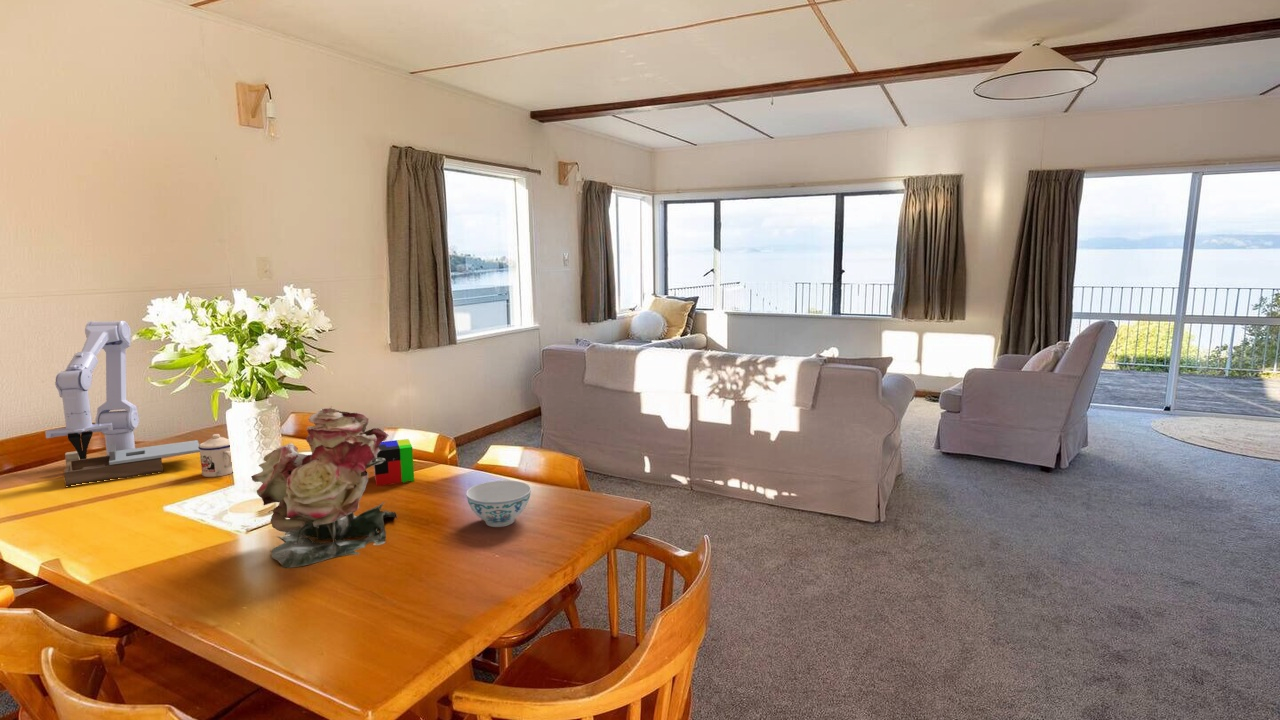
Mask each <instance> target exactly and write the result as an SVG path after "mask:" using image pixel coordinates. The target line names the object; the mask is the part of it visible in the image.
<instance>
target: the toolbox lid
mask: <svg viewBox="0 0 1280 720" xmlns="http://www.w3.org/2000/svg"><path fill="white" fill-rule="evenodd" d="M199 445H200V443H199V440H198V439H195V440H189V441H182V442H181V441H180V442H172V443H165V444H157V445H151V446H143V447H135V448H134V449H127V450H119V451H116V445H115V444H113V445H110V450H109V455H110V459H109V465H113V464H120V463H127V462H134V461H141V460H148V459H155V458H161V459H162V458H168V457H175V456H181V455H182V456H183V455H188V454H197V453H200V449H199V448H198V447H199ZM141 453H145V454H141ZM134 454H139V455H134ZM127 455H132V456H127Z"/></svg>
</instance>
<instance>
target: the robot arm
mask: <svg viewBox="0 0 1280 720" xmlns="http://www.w3.org/2000/svg"><path fill="white" fill-rule="evenodd" d="M84 333H85V334H84V335H85V337H86V340H85V342H84V344H83V347H82V349H81V351H77V352H76V353H75V354H74V355H73V356H72V358H71V360H70V361H69V363H68V365H67V366H66V369H65V370H62V371H60V372H58V373H57V374H56V376H55V382H54V385H55V387H56V389H57V391H58V395H59V397H60V398H61V399H62V405H63V413H64V421H65V427H60V428H54V429H48V430H45V432H44V433H45V439H51V438H56V437H65V436H66V437H67V440H68V441H69V442H70V444H71V445H72V446H73V448H74V449H75V451H77V453H78V455H79V457H80V460H81V459H87V458H88V455H87V454H88V448H89V447H88V446H89V444H90V441H91V439H92V437H93V433H100V432H101V434H104V439H105V440H104V442H105V443H104V444H105V451H106V456H109V450H110V445H113V444H115V445H116V451H119V450H127V449H134V448H136V444H135V443H136V442H135V436H134V434H135V433H134V430H136V428H137V427H138V426H139V424H140V423H139V422H140V415H139V414H138V413H139V411H138V407H137V405H135V404H134V403H132V402H130V401H129V400H127V371H126V370H127V368H126V367H127V366H126V365H127V364H126V362H127V361H126V359H127V356H126V355H127V353H126V350H127V349H128V348H130V347H131V343H132V338H131V337H132V335H131V333H132V331H131V327H130V326H129V324H128V322H127V321H125V320H113V321H112V320H111V321H109V320H108V321H107V320H106V321H104V320H103V321H92V320H90V321H88V322H87V323H86V325H85V328H84ZM101 350H103V351H105V376H106V377H105V382H106V383H105V386H106V388H105V390H106V391H105V392H106V393H105V395H106V396H105V397H106V400H105V402H103V403H102V404H101V405H100V406H98V407H97V411H96V416H95V420H94V423H93V422H92V413H91V406H90V405H91V403H90V396H89V395H90V394H89V389H90V388H91V387H92V381H93V372H94V370H95V368H96V366H97V365H98V363H99V359H98V357H97V356H98V354H99V353H100V352H101Z"/></svg>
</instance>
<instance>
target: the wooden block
mask: <svg viewBox="0 0 1280 720" xmlns="http://www.w3.org/2000/svg"><path fill="white" fill-rule="evenodd" d="M64 456H65V466H66V465H67V462H68V461H72V460H79V459H80V457H79V455H78V453H77V451H76V450H75V451H68V452H65V454H64Z"/></svg>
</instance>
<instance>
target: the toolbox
mask: <svg viewBox="0 0 1280 720" xmlns="http://www.w3.org/2000/svg"><path fill="white" fill-rule="evenodd" d="M141 454H145V453H141ZM134 455H139V454H134ZM127 456H132V455H127ZM109 459H110V455H109V456H107V455H104V456H95V457H87V458H86V459H81V460H80V459H79V460H72V461H68V462H67V465H66V464H65V468H64V471H63V477H64V484H65V485H64V486H65V487H66V486H71V485H76V484H82V483H89V482H97V481H104V480H110V479H118V478H125V479H128V478H127V477H131V478H134V477H133V476H138V475H144V476H147V475H146V474H151V475H153V474H152V473H157V474H159V473H158V472H163V473H164V470H163V462H162V461H163V460H162V458H155V459H148V460H141V461H134V462H127V463H120V464H113V465H109ZM138 477H139V476H138ZM118 480H119V479H118Z"/></svg>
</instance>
